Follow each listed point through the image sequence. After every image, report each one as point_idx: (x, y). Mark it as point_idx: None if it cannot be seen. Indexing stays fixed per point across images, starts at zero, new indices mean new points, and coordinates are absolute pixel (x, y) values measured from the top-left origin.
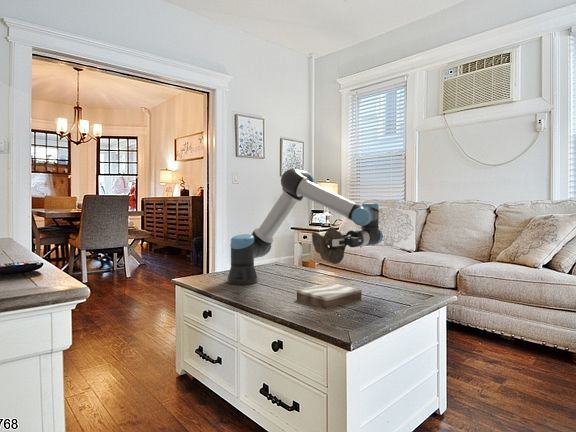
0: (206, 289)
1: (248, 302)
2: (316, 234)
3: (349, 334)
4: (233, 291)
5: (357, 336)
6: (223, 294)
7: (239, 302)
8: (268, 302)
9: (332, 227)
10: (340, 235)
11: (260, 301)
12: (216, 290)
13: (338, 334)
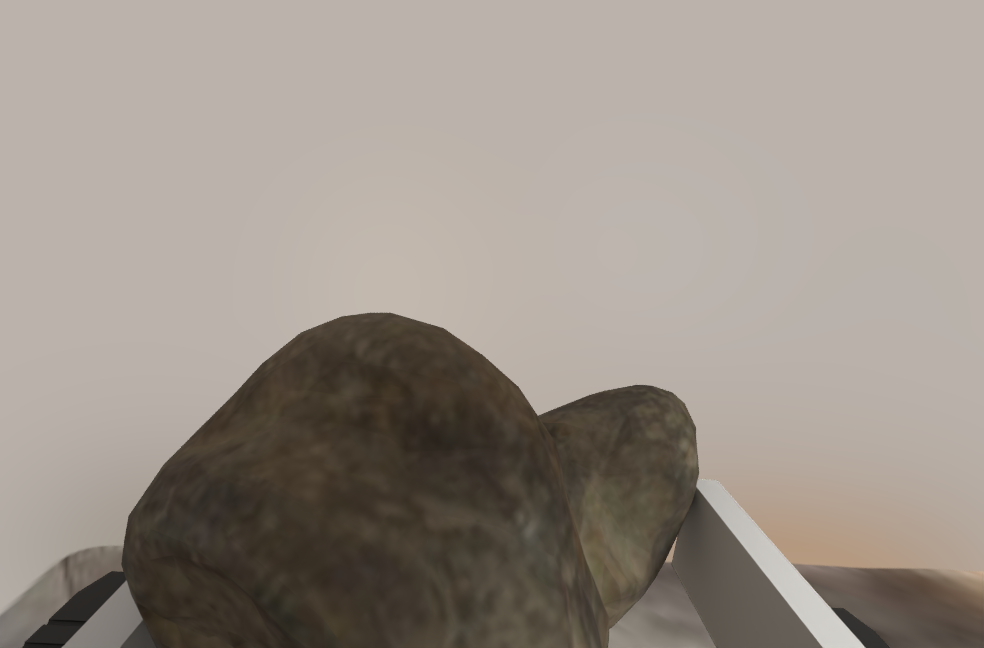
0: (941, 580)
1: (652, 585)
2: (580, 400)
3: (65, 588)
4: (901, 644)
5: (24, 592)
6: (826, 584)
7: (665, 563)
8: (616, 643)
9: (360, 314)
10: (130, 537)
11: (650, 627)
12: (921, 599)
13: (118, 565)
